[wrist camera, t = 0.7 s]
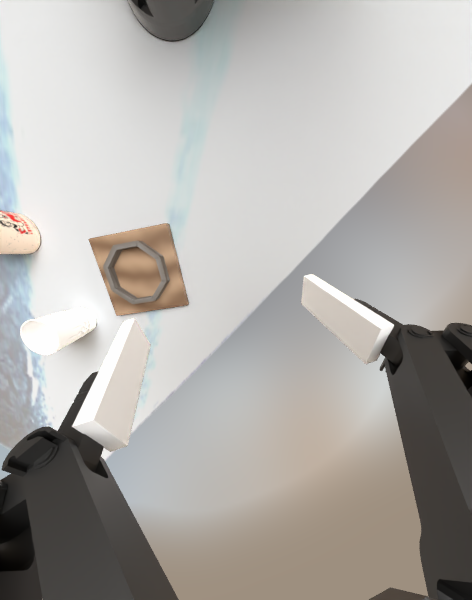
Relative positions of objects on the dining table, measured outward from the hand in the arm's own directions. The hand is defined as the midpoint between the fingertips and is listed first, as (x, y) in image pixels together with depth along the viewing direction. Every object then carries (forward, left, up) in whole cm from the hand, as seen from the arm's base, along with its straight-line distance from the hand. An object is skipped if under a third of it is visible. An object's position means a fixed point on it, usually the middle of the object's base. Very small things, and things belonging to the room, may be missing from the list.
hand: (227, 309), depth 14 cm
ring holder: (-4, -22, -26) cm, 35 cm away
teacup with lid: (-18, -48, -27) cm, 58 cm away
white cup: (+5, -41, -27) cm, 49 cm away
